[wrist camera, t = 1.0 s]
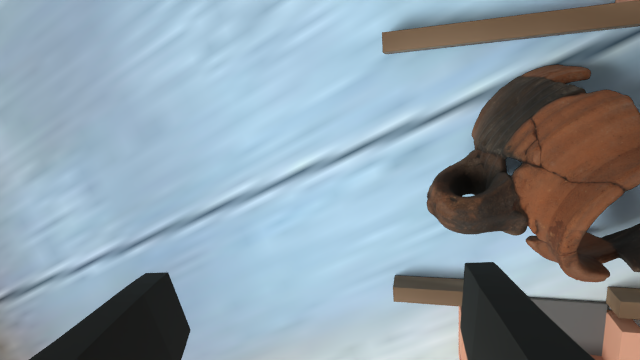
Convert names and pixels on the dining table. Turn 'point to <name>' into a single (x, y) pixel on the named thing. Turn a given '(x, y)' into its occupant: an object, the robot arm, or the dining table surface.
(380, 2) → the dining table surface
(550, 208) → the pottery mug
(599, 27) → the channel
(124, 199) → the dining table surface
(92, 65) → the dining table surface
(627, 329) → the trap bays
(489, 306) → the robot arm
